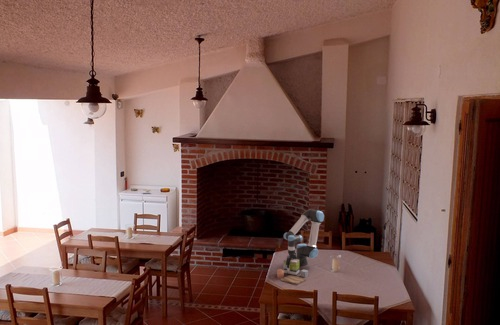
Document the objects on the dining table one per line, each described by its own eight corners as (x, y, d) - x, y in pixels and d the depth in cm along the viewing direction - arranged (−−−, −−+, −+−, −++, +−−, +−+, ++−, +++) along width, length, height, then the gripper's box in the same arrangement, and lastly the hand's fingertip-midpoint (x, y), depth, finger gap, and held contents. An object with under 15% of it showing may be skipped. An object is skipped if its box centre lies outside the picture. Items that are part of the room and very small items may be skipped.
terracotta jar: (279, 275, 483) (279, 268, 482) (285, 277, 478) (285, 269, 477) (275, 277, 477) (275, 270, 476) (281, 279, 473) (281, 271, 472)
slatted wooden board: (289, 276, 481) (289, 274, 481) (305, 280, 468) (305, 279, 468) (281, 280, 469) (281, 279, 469) (297, 285, 456) (297, 283, 456)
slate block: (303, 274, 485) (303, 269, 484) (308, 275, 481) (308, 270, 481) (300, 276, 481) (300, 270, 480) (305, 277, 477) (305, 272, 476)
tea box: (283, 273, 487) (283, 260, 486) (287, 270, 496) (286, 257, 494) (296, 275, 480) (296, 262, 478) (299, 272, 489) (299, 259, 487)
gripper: (294, 246, 496) (294, 265, 499) (282, 251, 479) (282, 271, 481) (300, 247, 492) (300, 266, 494) (288, 253, 474) (288, 273, 477)
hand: (291, 269), depth 488 cm, fingers closed on tea box, 11 cm apart
